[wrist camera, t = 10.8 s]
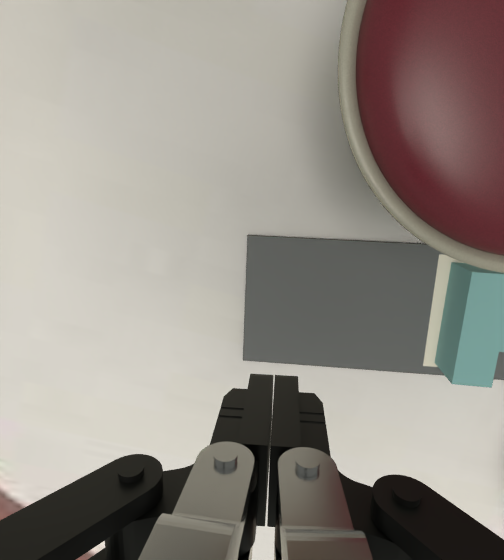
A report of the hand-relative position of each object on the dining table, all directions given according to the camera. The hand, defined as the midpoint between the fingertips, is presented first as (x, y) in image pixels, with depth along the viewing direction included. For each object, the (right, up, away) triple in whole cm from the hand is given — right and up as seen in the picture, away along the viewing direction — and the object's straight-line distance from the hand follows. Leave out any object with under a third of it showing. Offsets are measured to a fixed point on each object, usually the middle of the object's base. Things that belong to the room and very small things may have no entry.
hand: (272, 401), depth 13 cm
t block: (+20, +1, +22) cm, 30 cm away
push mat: (+13, +1, +23) cm, 26 cm away
